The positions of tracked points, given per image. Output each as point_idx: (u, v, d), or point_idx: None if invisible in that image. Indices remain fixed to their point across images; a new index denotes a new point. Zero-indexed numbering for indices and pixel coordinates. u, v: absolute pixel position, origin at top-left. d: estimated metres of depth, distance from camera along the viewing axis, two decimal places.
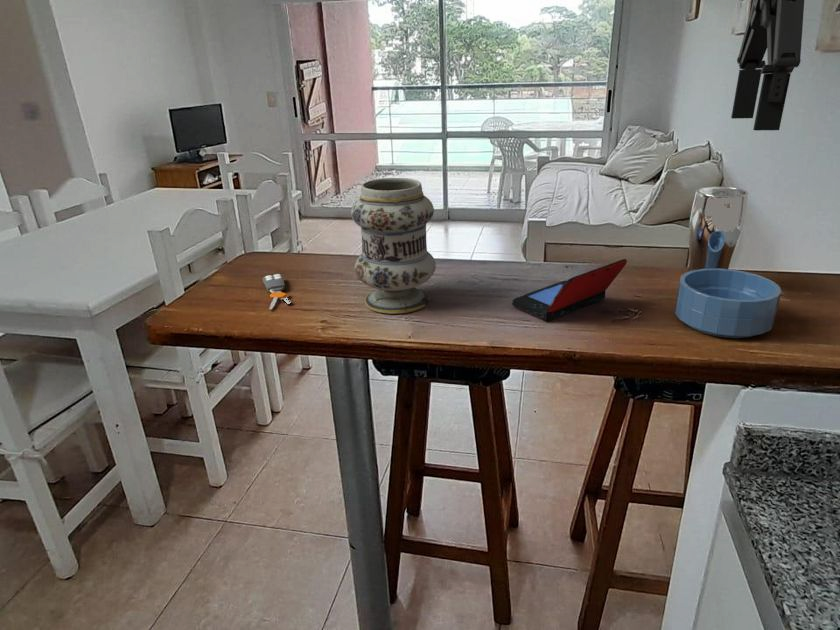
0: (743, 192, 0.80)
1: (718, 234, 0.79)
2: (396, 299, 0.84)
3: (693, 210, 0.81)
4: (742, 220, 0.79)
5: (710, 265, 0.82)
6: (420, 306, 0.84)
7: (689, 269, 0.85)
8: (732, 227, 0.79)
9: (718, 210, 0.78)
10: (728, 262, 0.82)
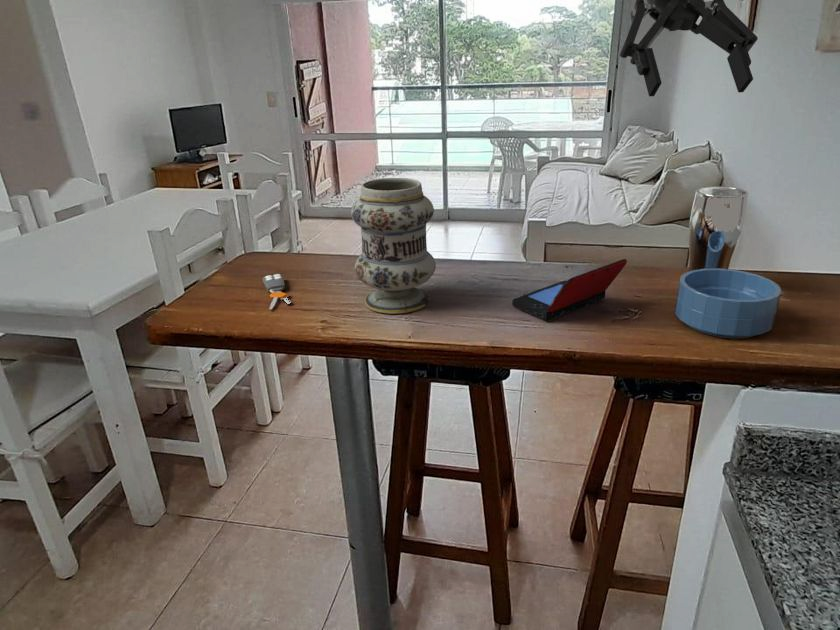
0: (743, 192, 0.80)
1: (718, 234, 0.79)
2: (396, 299, 0.84)
3: (693, 210, 0.81)
4: (742, 220, 0.79)
5: (710, 265, 0.82)
6: (420, 306, 0.84)
7: (689, 269, 0.85)
8: (732, 227, 0.79)
9: (718, 210, 0.78)
10: (728, 262, 0.82)
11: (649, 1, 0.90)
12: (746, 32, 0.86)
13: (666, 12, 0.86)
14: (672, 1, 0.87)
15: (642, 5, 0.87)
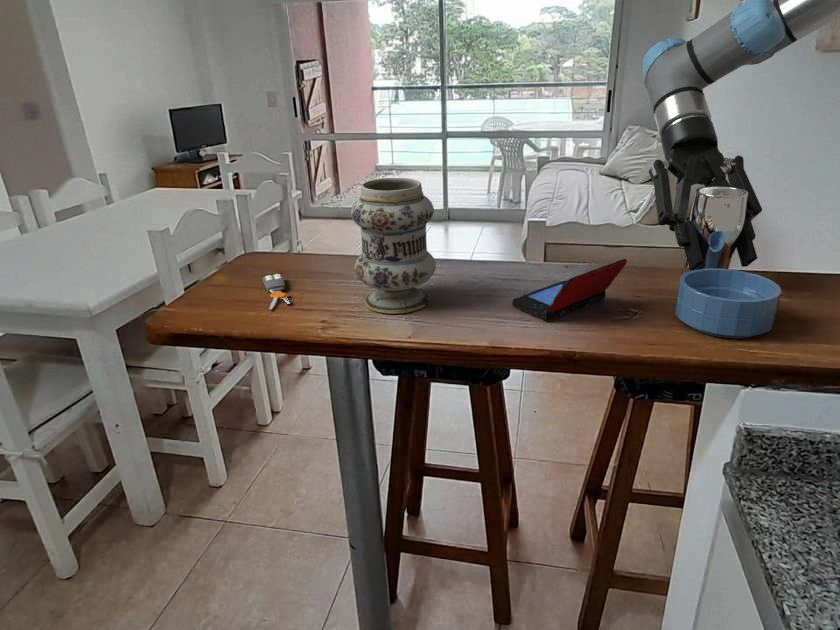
0: (743, 192, 0.80)
1: (718, 234, 0.79)
2: (396, 299, 0.84)
3: (693, 210, 0.81)
4: (742, 220, 0.79)
5: (710, 265, 0.82)
6: (420, 306, 0.84)
7: (689, 269, 0.85)
8: (732, 227, 0.79)
9: (718, 210, 0.78)
10: (728, 262, 0.82)
11: (666, 153, 0.88)
12: (752, 201, 0.83)
13: (690, 173, 0.84)
14: (690, 158, 0.85)
15: (662, 167, 0.85)
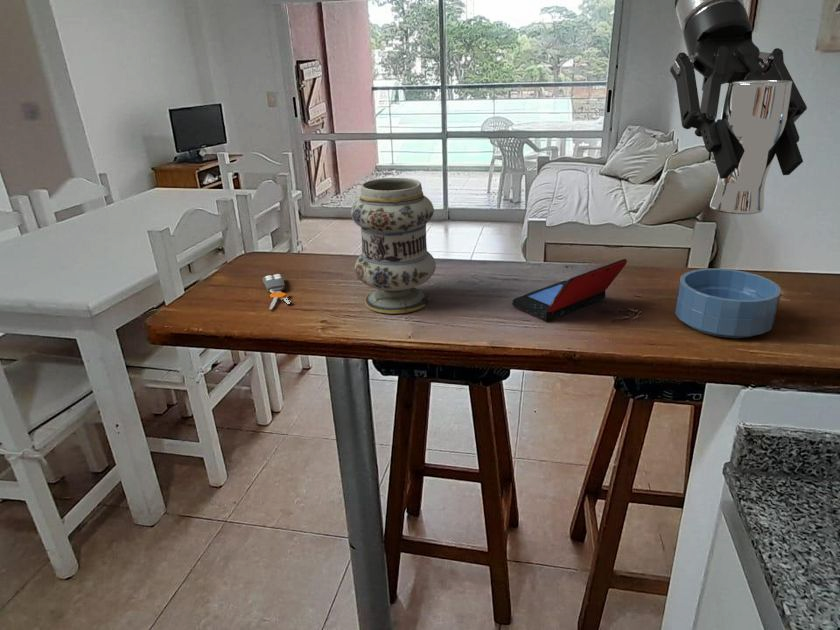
0: None
1: (756, 132, 0.66)
2: (396, 299, 0.84)
3: (725, 107, 0.68)
4: (785, 115, 0.66)
5: (745, 174, 0.69)
6: (420, 306, 0.84)
7: (718, 182, 0.72)
8: (773, 123, 0.65)
9: (756, 101, 0.65)
10: (766, 170, 0.69)
11: (691, 48, 0.74)
12: (795, 98, 0.70)
13: (720, 66, 0.71)
14: (720, 50, 0.71)
15: (687, 60, 0.72)
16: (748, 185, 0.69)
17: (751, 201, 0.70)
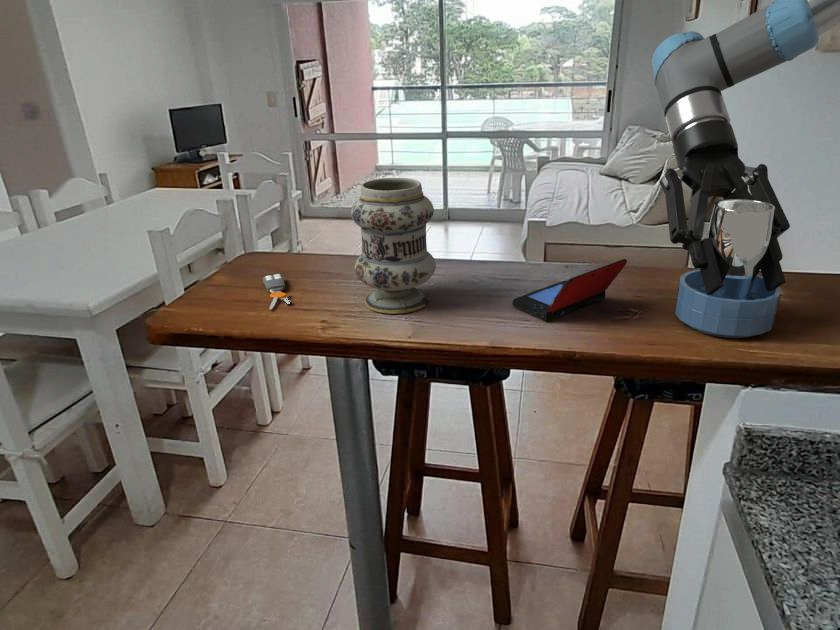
0: (769, 206, 0.70)
1: (740, 254, 0.69)
2: (396, 299, 0.84)
3: (711, 226, 0.71)
4: (768, 238, 0.69)
5: (731, 290, 0.72)
6: (420, 306, 0.84)
7: (705, 292, 0.75)
8: (756, 247, 0.69)
9: (741, 227, 0.68)
10: (751, 286, 0.72)
11: (679, 161, 0.77)
12: (779, 216, 0.73)
13: (706, 184, 0.74)
14: (707, 167, 0.74)
15: (676, 177, 0.75)
16: None
17: None
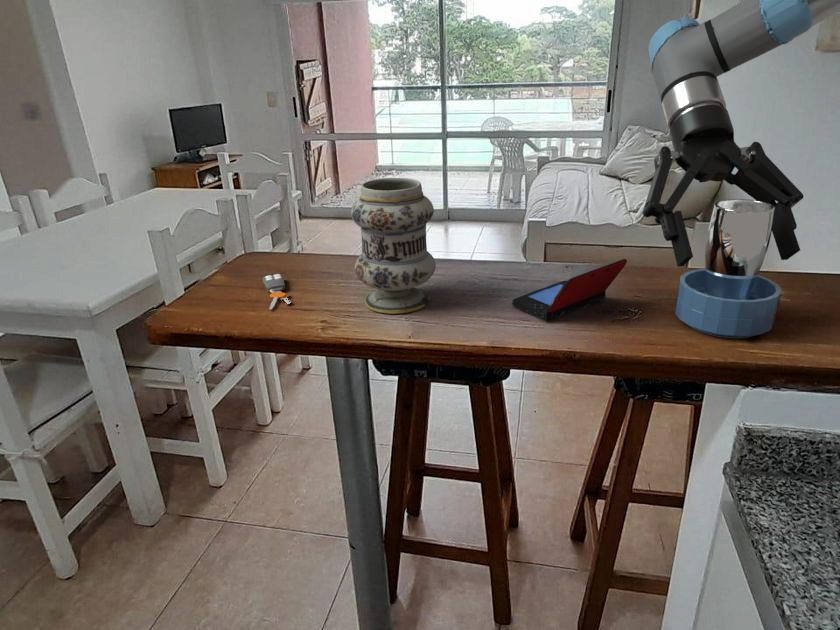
0: (769, 206, 0.70)
1: (740, 254, 0.69)
2: (396, 299, 0.84)
3: (711, 226, 0.71)
4: (768, 238, 0.69)
5: (731, 289, 0.72)
6: (420, 306, 0.84)
7: (705, 293, 0.75)
8: (756, 247, 0.69)
9: (741, 227, 0.68)
10: (751, 286, 0.72)
11: (676, 146, 0.78)
12: (790, 188, 0.74)
13: (696, 165, 0.75)
14: (703, 151, 0.75)
15: (668, 155, 0.76)
16: None
17: None
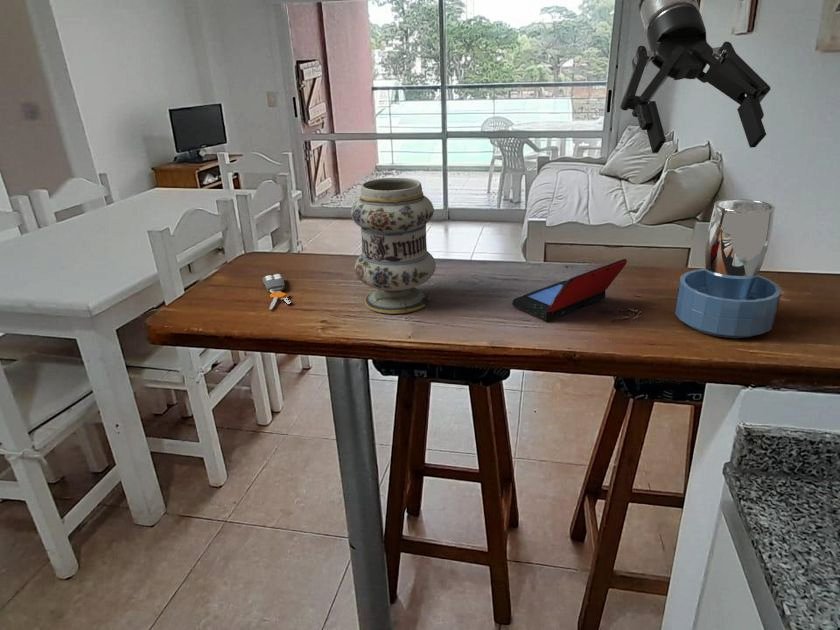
0: (769, 206, 0.70)
1: (740, 254, 0.69)
2: (396, 299, 0.84)
3: (711, 226, 0.71)
4: (768, 238, 0.69)
5: (731, 289, 0.72)
6: (420, 306, 0.84)
7: (705, 293, 0.75)
8: (756, 247, 0.69)
9: (741, 227, 0.68)
10: (751, 286, 0.72)
11: (652, 48, 0.83)
12: (758, 82, 0.79)
13: (670, 61, 0.80)
14: (677, 49, 0.80)
15: (644, 53, 0.81)
16: None
17: None
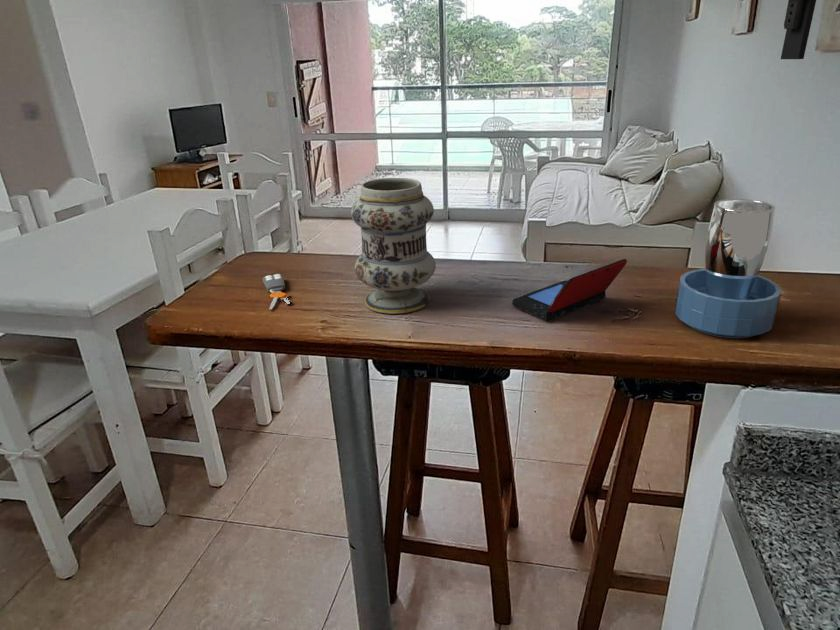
0: (769, 206, 0.70)
1: (740, 254, 0.69)
2: (396, 299, 0.84)
3: (711, 226, 0.71)
4: (768, 238, 0.69)
5: (731, 289, 0.72)
6: (420, 306, 0.84)
7: (705, 293, 0.75)
8: (756, 247, 0.69)
9: (741, 227, 0.68)
10: (751, 286, 0.72)
11: None
12: None
13: None
14: None
15: None
16: None
17: None
